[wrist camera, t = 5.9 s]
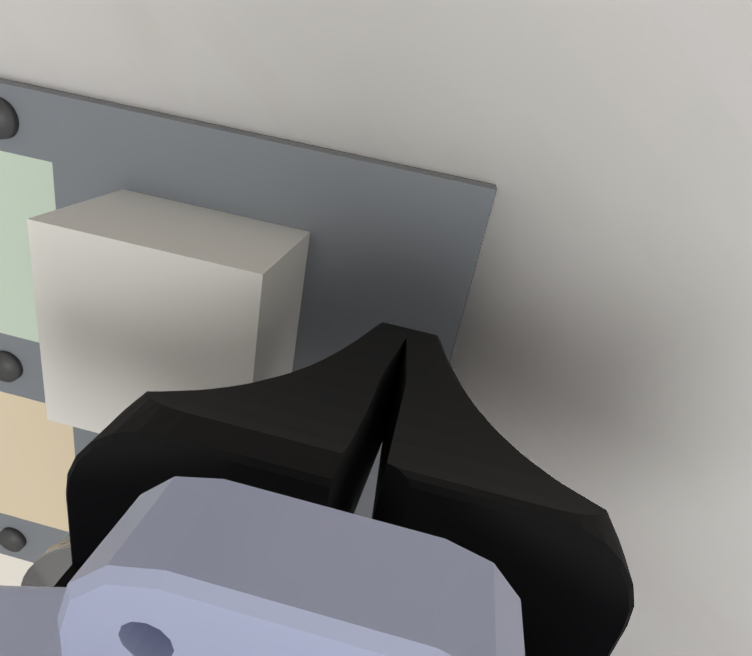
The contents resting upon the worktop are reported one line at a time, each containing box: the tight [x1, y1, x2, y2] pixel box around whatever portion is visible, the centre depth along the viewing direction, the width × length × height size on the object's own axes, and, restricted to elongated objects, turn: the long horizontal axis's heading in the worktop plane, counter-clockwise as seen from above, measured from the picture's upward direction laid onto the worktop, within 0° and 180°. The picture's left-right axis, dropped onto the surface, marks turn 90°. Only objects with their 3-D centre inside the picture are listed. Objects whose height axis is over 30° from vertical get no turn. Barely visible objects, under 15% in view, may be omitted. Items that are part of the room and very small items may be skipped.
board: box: [0, 78, 496, 586], centre depth 17 cm, size 15×22×1 cm
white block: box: [27, 189, 310, 434], centre depth 12 cm, size 4×4×3 cm
